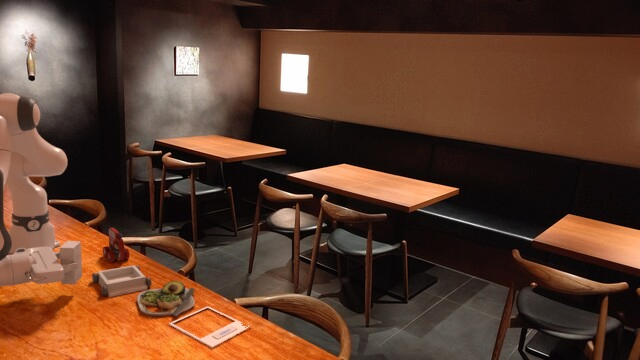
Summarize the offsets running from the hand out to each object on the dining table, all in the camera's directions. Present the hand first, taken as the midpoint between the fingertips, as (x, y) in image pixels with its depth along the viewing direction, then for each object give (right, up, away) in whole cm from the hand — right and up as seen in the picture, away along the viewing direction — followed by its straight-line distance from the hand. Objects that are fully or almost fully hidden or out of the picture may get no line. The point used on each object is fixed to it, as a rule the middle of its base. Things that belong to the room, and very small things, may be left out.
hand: (74, 259), depth 156 cm
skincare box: (-1, -7, +1) cm, 7 cm away
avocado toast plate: (+28, -14, +1) cm, 32 cm away
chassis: (+10, -10, +11) cm, 18 cm away
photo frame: (+44, -18, -11) cm, 49 cm away
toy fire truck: (0, -4, +31) cm, 32 cm away
